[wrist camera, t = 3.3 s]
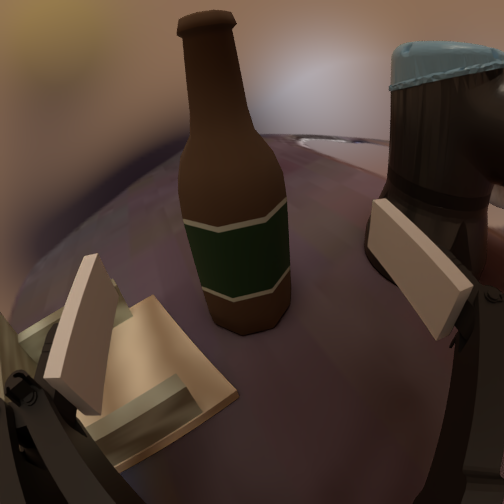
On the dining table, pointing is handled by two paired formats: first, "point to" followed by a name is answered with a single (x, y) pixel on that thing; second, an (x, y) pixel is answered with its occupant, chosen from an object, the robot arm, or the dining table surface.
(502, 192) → the cupcake
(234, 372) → the dining table surface
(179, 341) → the wooden display stand
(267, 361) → the dining table surface
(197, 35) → the beer bottle
